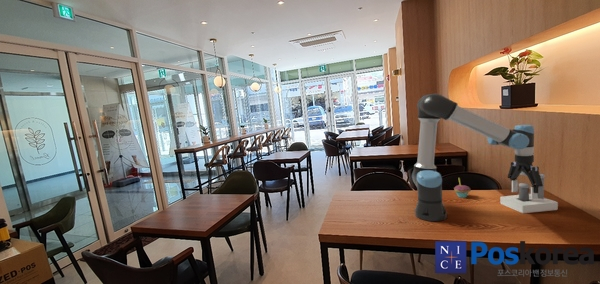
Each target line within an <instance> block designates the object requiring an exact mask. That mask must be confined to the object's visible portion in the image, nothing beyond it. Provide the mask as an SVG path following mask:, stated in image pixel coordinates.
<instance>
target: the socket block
mask: <svg viewBox="0 0 600 284" xmlns="http://www.w3.org/2000/svg"><path fill="white" fill-rule="evenodd" d="M541 181H542V184H543V186H541V187H538V193H537V199H531V193H529V201H526V202H523V201H520V200H519V194H516V195H514V194H513V195H506V196H499V197H500V203H499V204H501V205H502V206H505V207H507V208H510V209H512V210H515V211H517V212H519V213H521V214H528V213H538V212H540V213H541V212H548V211H557V210H558V207H559V203H558V201H555V200H553V199H549V198H547V197H545V196H544V193H545V179H541Z"/></svg>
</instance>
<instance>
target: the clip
mask: <svg viewBox="0 0 600 284" xmlns="http://www.w3.org/2000/svg"><path fill="white" fill-rule="evenodd" d="M539 174H540V177H541V179H544V180H545V178H546V174H544V173H539ZM519 176H526V177H528V176H527V175H526V174H525V173H524V172H521V173H520V175H519Z"/></svg>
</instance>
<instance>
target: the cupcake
mask: <svg viewBox="0 0 600 284" xmlns="http://www.w3.org/2000/svg"><path fill="white" fill-rule="evenodd" d="M458 183H459V184H458V185H456V186H454V187H453V189H454V192H455V193H456V195H457V197H459V198H464V199H465V198H467V197H468V194H469V193H470V192H471V187H470V186H467V185H465V184H461V178H460V177H458Z"/></svg>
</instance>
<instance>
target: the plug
mask: <svg viewBox="0 0 600 284" xmlns="http://www.w3.org/2000/svg"><path fill="white" fill-rule="evenodd" d="M529 194H530V183H524V182H520V183H518V195H519V200H520V201H523V202H526V201H529Z"/></svg>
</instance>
